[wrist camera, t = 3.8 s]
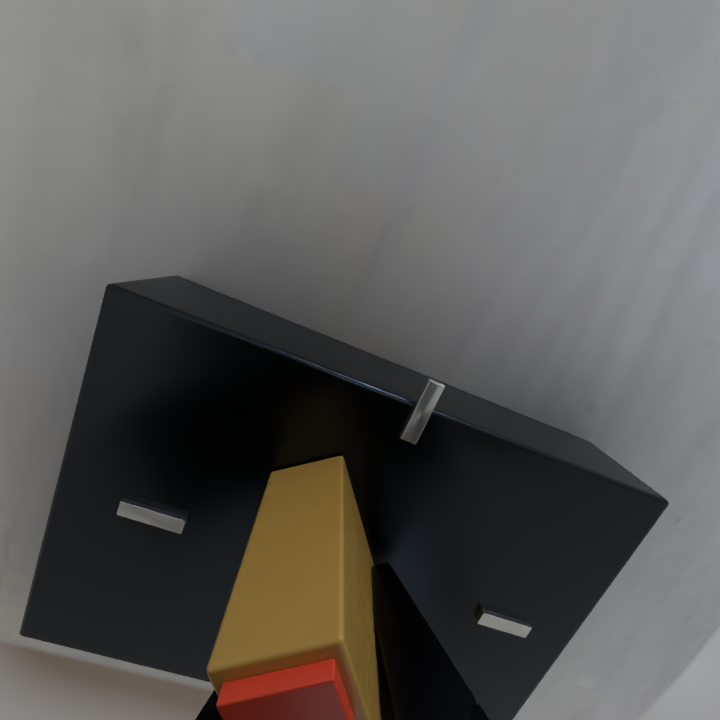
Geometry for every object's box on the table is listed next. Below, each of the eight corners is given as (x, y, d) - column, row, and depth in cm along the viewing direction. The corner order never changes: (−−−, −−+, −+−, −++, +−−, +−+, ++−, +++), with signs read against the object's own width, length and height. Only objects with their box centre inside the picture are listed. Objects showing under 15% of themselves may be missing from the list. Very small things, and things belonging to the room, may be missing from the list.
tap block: (601, 424, 11) (694, 485, 8) (451, 659, 14) (482, 773, 11) (181, 252, 10) (106, 250, 7) (92, 558, 12) (6, 661, 9)
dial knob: (400, 657, 10) (442, 954, 6) (339, 670, 10) (336, 976, 6) (343, 453, 8) (343, 662, 4) (269, 471, 8) (193, 696, 4)
